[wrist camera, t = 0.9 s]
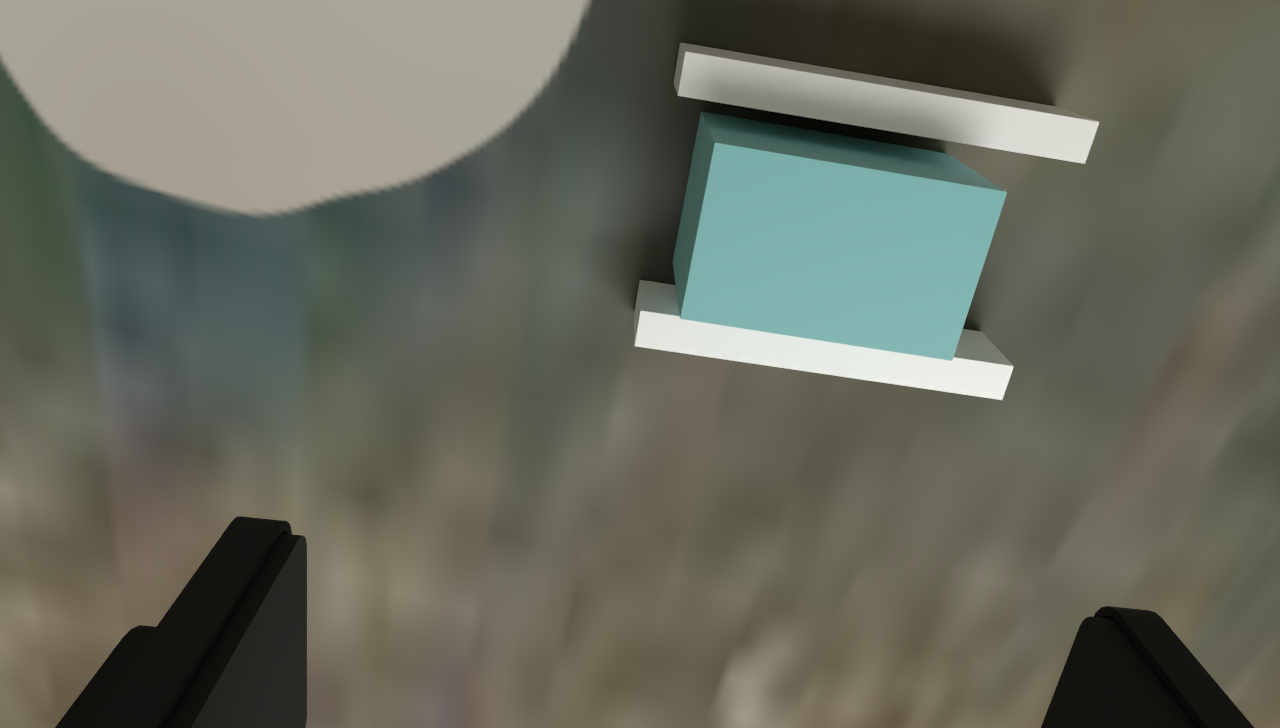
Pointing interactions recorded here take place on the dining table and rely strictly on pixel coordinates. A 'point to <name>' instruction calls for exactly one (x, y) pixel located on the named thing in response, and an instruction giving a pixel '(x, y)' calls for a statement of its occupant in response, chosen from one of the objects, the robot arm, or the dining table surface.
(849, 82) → the channel
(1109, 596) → the dining table surface
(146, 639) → the robot arm
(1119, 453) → the dining table surface
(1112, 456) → the dining table surface
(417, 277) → the dining table surface
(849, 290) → the teal block
